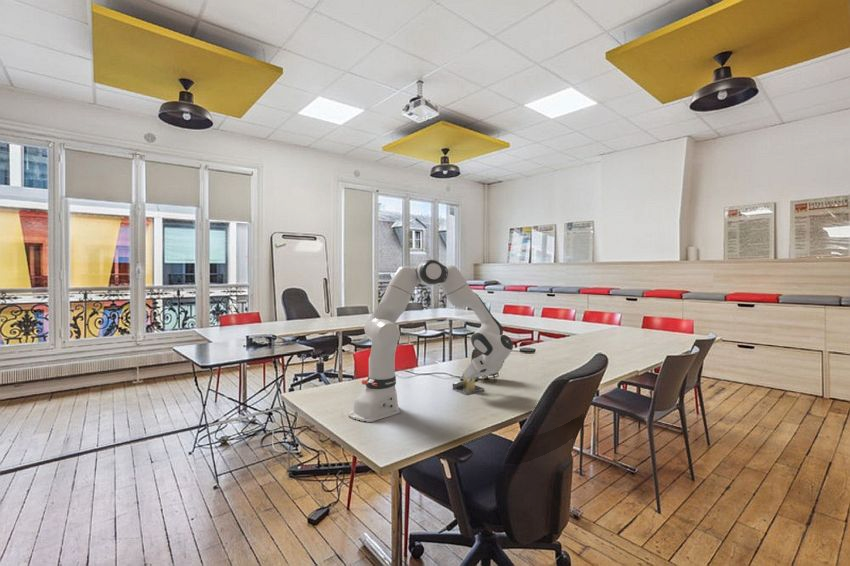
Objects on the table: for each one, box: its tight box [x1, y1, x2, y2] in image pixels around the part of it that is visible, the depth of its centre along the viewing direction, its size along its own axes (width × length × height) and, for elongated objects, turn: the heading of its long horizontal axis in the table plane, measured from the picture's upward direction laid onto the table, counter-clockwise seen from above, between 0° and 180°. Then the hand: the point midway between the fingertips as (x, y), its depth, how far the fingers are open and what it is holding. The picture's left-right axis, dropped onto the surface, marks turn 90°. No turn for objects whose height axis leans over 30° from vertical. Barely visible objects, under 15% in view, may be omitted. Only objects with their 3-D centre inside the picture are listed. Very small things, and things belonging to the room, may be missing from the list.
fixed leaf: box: [452, 380, 485, 396], centre depth 195 cm, size 10×12×4 cm
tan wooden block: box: [462, 371, 476, 390], centre depth 194 cm, size 4×4×8 cm
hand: (475, 378), depth 191 cm, fingers open, 8 cm apart
